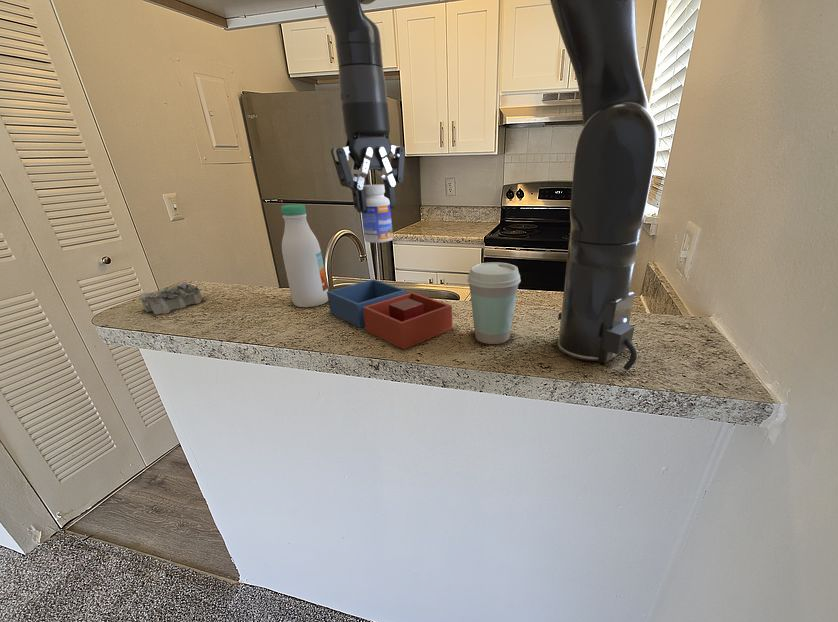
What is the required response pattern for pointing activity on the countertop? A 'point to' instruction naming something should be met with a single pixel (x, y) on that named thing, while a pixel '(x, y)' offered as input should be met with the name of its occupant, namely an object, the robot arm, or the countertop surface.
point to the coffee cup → (493, 300)
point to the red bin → (408, 321)
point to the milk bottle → (302, 259)
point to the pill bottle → (377, 215)
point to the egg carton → (171, 298)
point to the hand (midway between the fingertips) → (376, 210)
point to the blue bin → (359, 299)
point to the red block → (406, 309)
